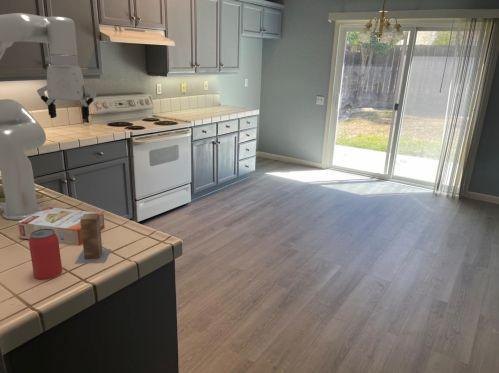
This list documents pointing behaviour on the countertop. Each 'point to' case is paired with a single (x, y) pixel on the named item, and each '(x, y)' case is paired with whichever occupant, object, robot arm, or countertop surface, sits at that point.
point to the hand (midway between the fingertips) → (69, 118)
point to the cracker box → (57, 224)
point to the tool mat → (100, 260)
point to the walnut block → (91, 236)
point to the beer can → (45, 254)
